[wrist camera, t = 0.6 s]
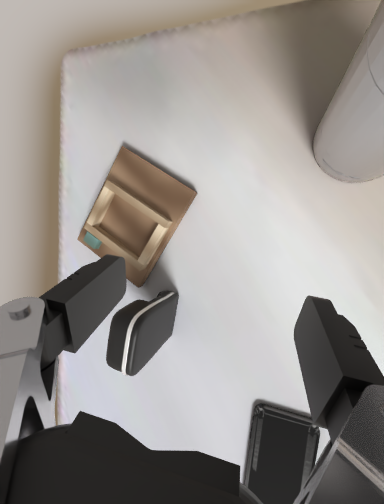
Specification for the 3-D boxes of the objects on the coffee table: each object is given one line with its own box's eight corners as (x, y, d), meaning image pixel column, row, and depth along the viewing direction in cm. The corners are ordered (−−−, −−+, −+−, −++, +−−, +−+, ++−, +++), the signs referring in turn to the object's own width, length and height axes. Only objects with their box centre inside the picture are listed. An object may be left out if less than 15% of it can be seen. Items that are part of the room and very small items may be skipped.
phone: (321, 425, 27) (303, 532, 29) (319, 418, 28) (302, 521, 30) (254, 405, 30) (241, 504, 31) (254, 399, 31) (242, 495, 32)
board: (127, 148, 33) (115, 141, 31) (197, 193, 31) (191, 188, 28) (83, 239, 37) (69, 239, 34) (142, 285, 34) (132, 290, 31)
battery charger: (157, 285, 33) (105, 309, 23) (180, 292, 32) (138, 320, 21) (149, 328, 34) (97, 372, 23) (172, 336, 33) (128, 386, 22)
